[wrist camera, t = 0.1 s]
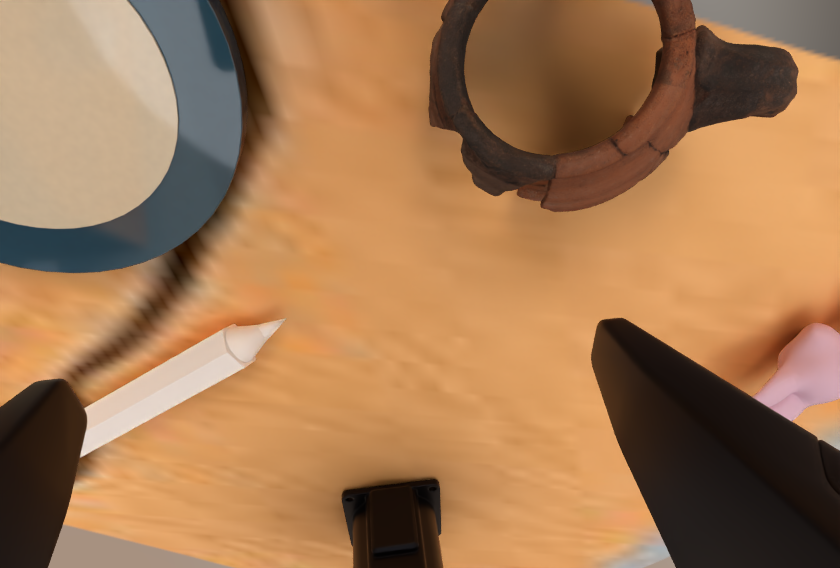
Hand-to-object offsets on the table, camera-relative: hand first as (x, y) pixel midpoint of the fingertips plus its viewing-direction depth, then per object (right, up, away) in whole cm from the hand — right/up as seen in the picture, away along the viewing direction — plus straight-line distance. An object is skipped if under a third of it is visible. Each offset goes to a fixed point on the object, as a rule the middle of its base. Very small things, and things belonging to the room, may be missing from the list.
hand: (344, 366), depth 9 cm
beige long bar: (-12, -3, +19) cm, 23 cm away
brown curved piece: (+7, +10, +12) cm, 17 cm away
